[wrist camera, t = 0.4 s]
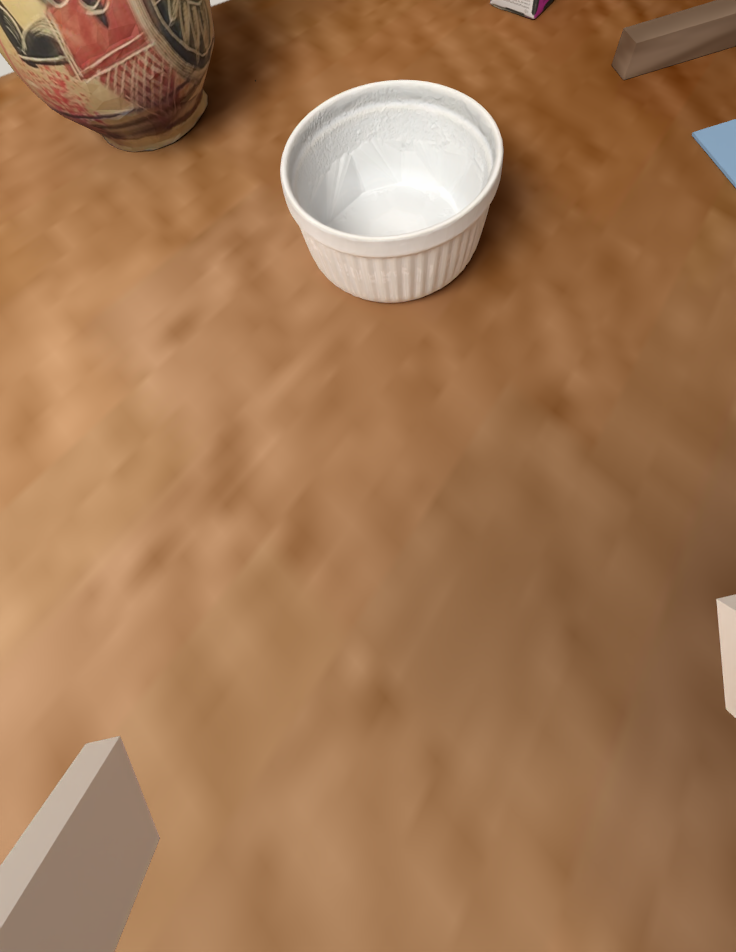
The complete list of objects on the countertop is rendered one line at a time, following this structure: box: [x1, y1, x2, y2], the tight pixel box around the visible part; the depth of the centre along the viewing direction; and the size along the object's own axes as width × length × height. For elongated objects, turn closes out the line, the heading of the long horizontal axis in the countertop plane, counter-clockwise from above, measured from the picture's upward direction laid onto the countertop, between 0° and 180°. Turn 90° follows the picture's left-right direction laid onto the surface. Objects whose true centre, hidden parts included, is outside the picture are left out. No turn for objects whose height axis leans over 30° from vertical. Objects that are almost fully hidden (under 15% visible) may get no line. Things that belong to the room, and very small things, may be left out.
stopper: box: [612, 0, 736, 80], centre depth 39 cm, size 2×16×2 cm, turn 107°
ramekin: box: [280, 80, 503, 303], centre depth 33 cm, size 13×13×7 cm
